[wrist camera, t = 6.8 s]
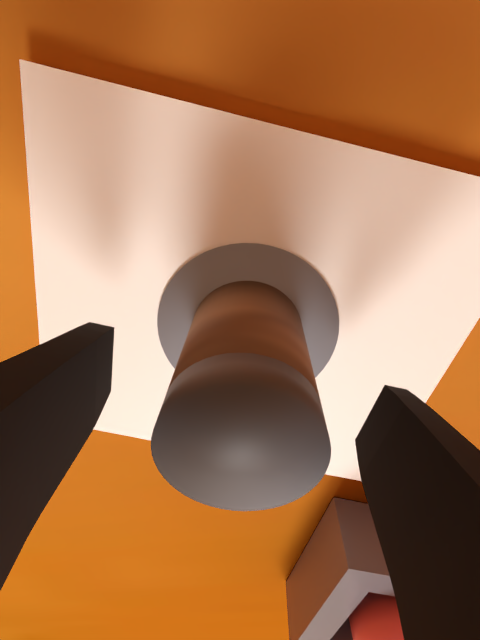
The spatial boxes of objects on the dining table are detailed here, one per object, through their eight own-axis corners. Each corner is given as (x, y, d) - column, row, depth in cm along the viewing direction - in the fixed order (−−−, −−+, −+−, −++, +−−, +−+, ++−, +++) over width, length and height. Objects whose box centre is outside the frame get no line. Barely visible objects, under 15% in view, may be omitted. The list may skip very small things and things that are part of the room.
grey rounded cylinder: (316, 294, 10) (359, 406, 6) (284, 384, 12) (299, 523, 8) (202, 269, 10) (161, 365, 6) (185, 363, 12) (143, 494, 8)
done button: (459, 587, 15) (494, 663, 13) (415, 629, 17) (438, 700, 15) (367, 571, 15) (385, 645, 13) (333, 616, 17) (344, 686, 15)
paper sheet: (542, 193, 9) (558, 197, 9) (370, 473, 15) (375, 485, 14) (31, 63, 9) (16, 57, 8) (51, 411, 14) (43, 421, 14)
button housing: (492, 527, 16) (537, 601, 14) (416, 604, 20) (440, 675, 17) (333, 497, 16) (348, 568, 13) (285, 582, 20) (290, 651, 17)
